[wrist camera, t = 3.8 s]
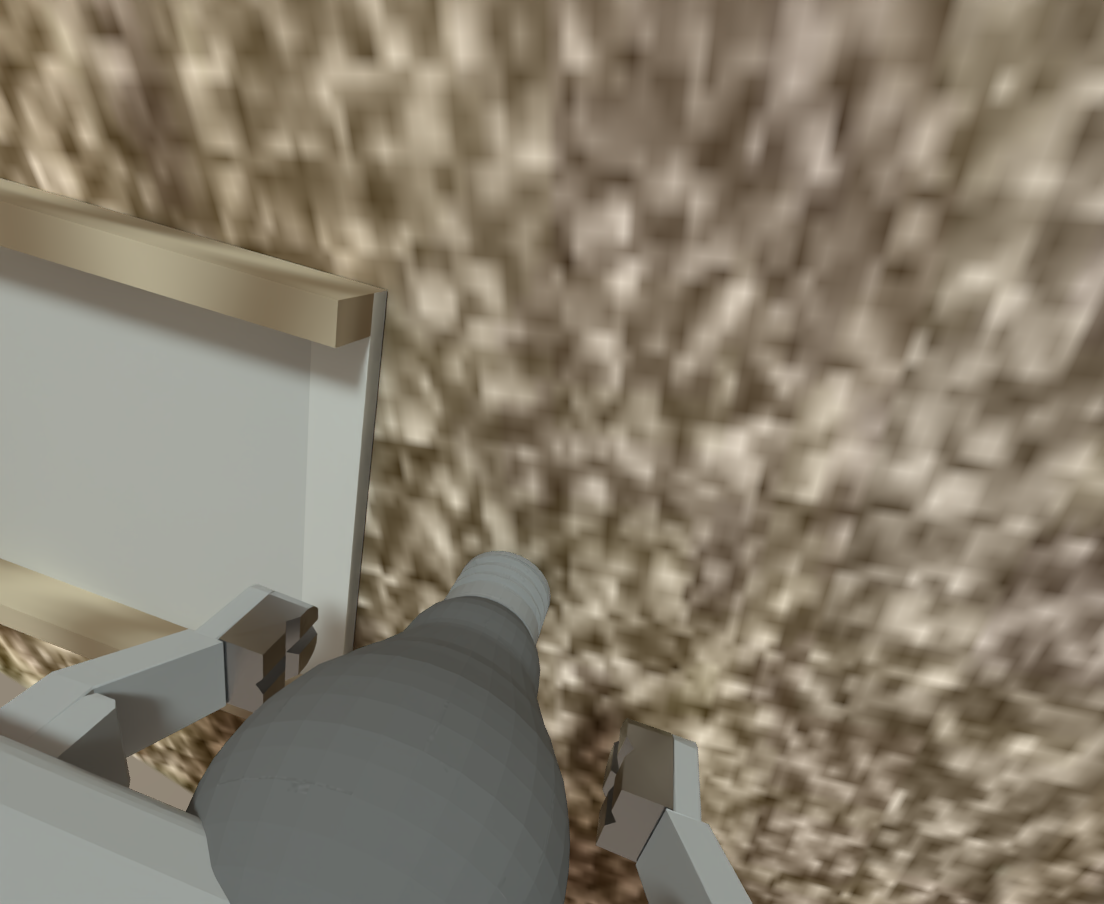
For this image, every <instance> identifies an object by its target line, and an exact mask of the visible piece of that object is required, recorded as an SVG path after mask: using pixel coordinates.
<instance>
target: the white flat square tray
mask: <svg viewBox="0 0 1104 904" xmlns="http://www.w3.org/2000/svg"><path fill="white" fill-rule="evenodd" d="M385 292H387V291H385ZM382 299H383V298H382ZM386 299H387V298H386ZM385 301H386V300H384V302H385ZM385 304H386V303H385ZM382 309H383V308H382ZM382 312H383V311H382ZM381 314H382V313H381ZM383 314H384V313H383ZM383 317H385V316H384V315H383ZM383 319H384V318H383ZM379 320H380V319H379ZM381 321H382V320H381ZM383 323H384V322H383ZM381 324H382V323H381ZM383 325H384V324H383ZM383 325H382V327H383ZM380 327H381V326H380ZM383 328H384V327H383ZM383 330H384V329H383ZM383 330H382V331H383ZM376 332H377V330H376ZM380 332H381V331H380ZM380 334H381V333H380ZM381 338H383V337H381ZM379 339H380V338H379ZM382 340H383V339H382ZM381 342H382V341H381ZM378 345H379V344H378ZM377 347H378V346H377ZM380 347H381V346H380ZM380 347H379V348H380ZM380 351H381V350H380ZM377 352H378V351H377ZM378 353H379V352H378ZM379 354H381V353H379ZM379 354H378V355H379ZM379 358H381V357H380V355H379ZM376 359H377V357H376ZM378 361H379V360H378ZM380 361H381V359H380ZM379 363H380V362H379ZM310 366H311V341H310V340H307V339H304V338H300V337H297V336H294V335H291V334H287V333H284V332H281V331H277V330H274V329H271V328H268V327H264V326H261V325H258V324H255V323H251V322H248V321H245V320H241V319H238V318H235V317H232V316H228V315H225V314H222V313H218V312H215V311H212V310H209V309H205V308H202V307H199V306H196V305H192V304H189V303H186V302H182V301H179V300H176V299H173V298H169V297H166V296H163V295H159V294H156V293H153V292H150V291H146V290H143V289H140V288H137V287H133V286H130V285H127V284H123V283H120V282H117V281H114V280H110V279H107V278H104V277H100V276H97V275H94V274H91V273H87V272H84V271H81V270H78V269H74V268H71V267H68V266H64V265H61V264H58V263H55V262H51V261H48V260H45V259H41V258H38V257H35V256H32V255H28V254H25V253H22V252H19V251H15V250H12V249H9V248H5V247H2V246H0V558H1V559H4V560H6V561H9V562H12V563H14V564H17V565H20V566H22V567H25V568H28V569H30V570H33V571H36V572H38V573H41V574H44V575H46V576H49V577H52V578H54V579H57V580H60V581H62V582H65V583H68V584H70V585H73V586H76V587H78V588H81V589H84V590H86V591H89V592H92V593H94V594H97V595H100V596H102V597H105V598H108V599H110V600H113V601H116V602H118V603H121V604H124V605H126V606H129V607H132V608H134V609H137V610H140V611H142V612H145V613H148V614H150V615H153V616H156V617H158V618H161V619H164V620H166V621H169V622H172V623H174V624H177V625H180V626H182V627H185V628H188V629H191V630H194V631H195V630H197V629H198V628H199V627H200V626H202V625H203V624H204V623H205V622H206V621H208V620H209V619H210V618H211V617H212V616H214V615H215V614H216V613H217V612H219V611H220V610H221V609H222V608H223V607H225V606H226V605H227V604H228V603H229V602H231V601H232V600H233V599H234V598H236V597H237V596H238V595H239V594H240V593H242V592H243V591H244V590H245V589H246V588H248V587H249V586H252V585H255V584H259V585H261V586H264V587H266V588H269V589H272V590H274V591H277V592H280V593H283V594H285V595H288V596H290V597H293V598H295V599H298V600H300V601H302V582H303V555H304V528H305V501H306V474H307V447H308V420H309V393H310ZM379 366H380V365H379ZM374 367H375V366H374ZM376 367H377V366H376ZM378 368H379V367H378ZM379 369H380V368H379ZM377 370H378V369H377ZM377 372H378V371H377ZM377 374H378V373H377ZM378 376H379V375H378ZM374 377H375V376H374ZM376 378H377V377H376ZM377 380H378V379H377ZM374 381H375V380H374ZM378 381H379V380H378ZM378 381H377V383H378ZM374 387H375V386H374ZM377 387H378V386H377ZM373 390H375V389H373ZM376 390H377V389H376ZM377 391H378V390H377ZM377 391H374V392H377ZM375 394H376V393H375ZM376 395H377V394H376ZM374 396H375V395H374ZM372 397H373V396H372ZM376 398H377V397H376ZM376 398H375V399H374V400H375V402H376V401H377V400H376ZM372 401H373V400H372ZM375 402H374V403H375ZM371 403H372V402H371ZM373 406H374V405H373ZM374 407H375V406H374ZM372 409H373V408H372ZM372 409H371V410H372ZM372 411H373V410H372ZM375 411H376V410H375ZM373 413H374V412H373ZM374 414H375V413H374ZM369 416H371V414H370V415H369ZM371 417H372V418H373V417H374V416H373V415H372V416H371ZM370 419H371V418H370ZM374 420H375V419H374ZM371 421H372V420H371ZM374 422H375V421H374ZM371 424H372V423H371ZM367 428H368V427H367ZM373 428H374V424H373ZM373 428H370V430H371V429H372V430H373ZM365 429H366V428H365ZM369 432H371V431H369ZM372 432H373V431H372ZM371 434H372V433H371ZM372 437H373V436H372ZM369 438H371V437H370V436H369ZM372 440H373V439H372V438H371V441H372ZM368 441H369V440H368ZM369 442H370V441H369ZM367 443H368V442H367ZM370 444H371V442H370ZM371 447H372V446H371ZM371 447H370V448H371ZM368 449H369V448H368ZM364 450H365V449H364ZM369 450H371V449H369ZM367 451H368V450H367ZM371 451H372V450H371ZM371 451H370V452H368V453H371V454H372V452H371ZM367 456H368V455H367ZM370 458H371V457H370ZM368 460H369V458H368ZM366 461H367V460H366ZM367 462H368V461H367ZM370 463H371V462H370ZM366 464H367V463H366ZM367 465H369V466H370V464H367ZM364 469H365V468H364ZM368 470H369V469H367V471H368ZM363 471H364V470H363ZM369 473H370V472H369ZM369 473H368V474H369ZM365 475H366V474H365ZM366 476H367V475H366ZM366 476H365V478H366ZM367 478H368V479H369V477H367ZM366 482H367V481H366ZM366 482H365V483H366ZM368 482H369V481H368ZM367 484H368V483H367ZM366 486H367V485H366ZM364 487H365V486H364ZM367 487H368V486H367ZM365 488H366V487H365ZM363 490H364V489H363ZM365 490H366V489H365ZM360 492H361V491H360ZM365 492H367V491H365ZM367 495H368V494H367ZM364 496H365V498H366V497H367V496H366V495H364ZM364 496H363V497H364ZM363 497H362V498H363ZM360 500H361V499H360ZM364 501H365V499H364ZM366 502H367V501H366ZM362 504H364V502H362ZM366 505H367V504H366ZM366 505H365V506H366ZM362 506H364V505H362ZM360 507H361V506H360ZM360 507H359V508H360ZM363 509H364V508H363ZM365 509H366V507H365ZM361 511H362V510H361ZM364 511H365V510H364ZM365 512H366V511H365ZM360 515H361V514H360ZM363 516H364V515H363ZM360 517H361V516H360ZM361 518H362V517H361ZM361 518H359V519H361ZM364 518H365V517H364ZM360 521H362V520H360ZM359 523H360V522H359ZM363 523H364V521H363V522H362V524H363ZM364 525H365V523H364V524H363V526H364ZM360 526H361V525H360ZM363 526H362V527H360V528H359V530H360V529H361V528H363ZM364 527H365V526H364ZM363 529H364V528H363ZM360 531H362V530H360ZM357 533H358V531H357ZM359 534H360V533H359ZM362 534H363V533H362ZM357 535H358V534H357ZM360 535H361V534H360ZM360 535H359V536H360ZM363 536H364V535H363ZM361 537H362V535H361V536H360V539H361ZM362 538H363V537H362ZM359 541H360V540H359ZM356 542H358V540H357V541H356ZM360 543H361V541H360ZM362 543H363V541H362ZM358 545H359V542H358V544H357V546H358ZM360 545H362V544H360ZM360 547H361V546H360ZM361 549H362V548H361ZM356 550H357V549H356ZM358 551H359V550H358ZM356 554H359V553H356ZM360 554H361V553H360ZM361 555H362V554H361ZM359 556H360V555H359ZM355 557H356V556H355ZM360 558H362V557H361V556H360ZM360 558H358V557H356V560H357V559H359V560H361V559H360ZM357 561H358V560H357ZM359 562H360V563H361V561H359ZM359 562H357V563H358V565H359V564H360V563H359ZM355 564H356V563H355ZM353 565H354V564H353ZM356 565H357V564H356ZM360 565H361V564H360ZM360 565H359V566H360ZM354 566H355V565H354ZM354 566H353V567H354ZM358 568H359V567H358ZM360 568H361V567H360ZM354 570H355V569H354ZM355 571H356V572H357V568H356V570H355ZM355 571H354V573H355ZM359 572H360V571H359ZM357 573H358V572H357ZM357 573H356V574H357ZM352 574H353V573H352ZM355 576H356V575H355ZM358 576H360V575H357V577H358ZM355 578H356V577H355ZM355 578H354V580H355ZM352 580H353V579H352ZM353 582H354V581H353ZM356 582H358V581H356ZM356 582H355V583H356ZM351 584H352V583H351ZM353 585H355V584H354V583H353ZM353 585H352V587H354V586H353ZM354 588H357V587H356V586H355V587H354ZM358 588H359V587H358ZM353 591H354V590H353ZM355 591H356V590H355ZM350 593H351V591H350ZM352 593H353V592H352ZM350 595H351V594H350ZM354 595H355V594H354ZM356 595H357V594H356ZM357 597H358V596H357ZM350 598H351V597H350ZM352 598H353V596H352ZM349 600H351V599H349ZM352 600H353V599H352ZM355 600H356V599H355ZM353 601H354V600H353ZM353 601H352V602H353ZM353 603H355V602H353ZM353 603H352V605H353ZM356 604H357V603H356ZM350 605H351V603H350V604H349V606H350ZM352 605H351V606H352ZM353 606H354V605H353ZM354 607H356V606H354ZM351 608H353V607H351ZM355 609H356V608H355ZM351 610H352V609H351ZM353 610H354V608H353ZM356 610H357V609H356ZM349 614H350V613H349ZM351 614H352V613H351ZM351 618H354V617H351ZM355 618H356V614H355ZM348 620H349V619H348ZM351 621H352V622H354V620H353V619H351V620H350V622H351ZM354 623H355V622H354ZM354 623H353V624H354ZM350 624H351V623H350ZM351 625H352V624H351ZM353 626H354V625H353ZM349 627H350V626H349ZM352 628H353V627H352ZM349 631H350V630H349V629H348V632H349ZM354 631H355V630H354ZM354 631H353V632H354ZM348 632H347V633H348ZM349 633H351V631H350V632H349ZM353 634H354V633H353ZM353 634H350V635H351V636H354V635H353ZM348 635H349V634H348ZM350 635H349V636H350ZM346 636H347V635H346ZM351 639H352V638H351ZM353 639H354V638H353ZM348 642H349V641H348ZM348 642H347V644H348V645H349V643H348ZM351 643H352V642H351ZM346 647H347V645H346ZM349 647H350V646H349ZM352 648H353V646H352ZM346 649H347V648H346ZM346 649H345V650H346ZM346 651H347V650H346ZM346 651H345V652H346ZM349 652H350V650H349ZM351 652H352V651H351Z"/></svg>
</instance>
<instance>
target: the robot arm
mask: <svg viewBox="0 0 1104 904" xmlns="http://www.w3.org/2000/svg"><path fill="white" fill-rule="evenodd" d="M317 620H318V608H317V607H315V606H313V605H310V604H308V603H305V602H303V601H300V600H298V599H295V598H293V597H290V596H288V595H285V594H283V593H280V592H277V591H274V590H272V589H269V588H266V587H264V586H261V585H259V584H255V585H252V586H249V587H248V588H246V589H245V590H244V591H243V592H242V593H240V594H239V595H238V596H237V597H236V598H234V599H233V600H232V601H231V602H229V603H228V604H227V605H226V606H225V607H223V608H222V609H221V610H220V611H219V612H217V613H216V614H215V615H214V616H212V617H211V618H210V619H209V620H208V621H206V622H205V623H204V624H203V625H202V626H200V627H199V628H198V629H197V630H195V631H194V630H191V629H187V630H184V631H181V632H177V633H174V634H171V635H168V636H165V637H162V638H158V639H155V640H152V641H149V642H146V643H143V644H139V645H136V646H133V647H130V648H127V649H123V650H120V651H117V652H114V653H111V654H108V655H104V656H101V657H98V658H95V659H92V660H89V661H85V662H82V663H79V664H76V665H73V666H70V667H66V668H63V669H60V670H57V671H54V672H51V673H50V674H48V675H47V676H45V677H44V678H43V679H41V680H40V681H38V682H37V683H35V684H34V685H33V686H31V687H30V688H28V689H27V690H25V691H24V692H23V693H22V694H20V695H19V696H17V697H16V698H14V699H13V700H11V701H10V702H8V703H7V704H6V705H4V706H3V707H1V708H0V904H230V903H229V901H228V899H227V897H226V895H225V894H224V892H223V890H222V888H221V886H220V885H219V883H218V881H217V879H216V878H215V876H214V873H213V870H212V868H211V863H210V857H209V850H208V844H207V838H206V834H205V831H204V829H203V826H202V821H201V820H200V818H199V817H197V816H195V815H192V814H190V813H188V812H185V811H183V810H180V809H178V808H175V807H173V806H171V805H168V804H166V803H163V802H161V801H158V800H156V799H154V798H151V797H149V796H147V795H144V794H142V793H139V792H137V791H134V790H132V789H130V788H129V785H130V776H129V770H128V766H127V760H126V757H129V756H131V755H132V754H134V753H136V752H138V751H140V750H142V749H144V748H146V747H148V746H150V745H152V744H154V743H156V742H157V741H159V740H161V739H163V738H165V737H167V736H169V735H171V734H173V733H175V732H177V731H179V730H180V729H182V728H184V727H186V726H188V725H190V724H192V723H194V722H196V721H198V720H200V719H202V718H203V717H205V716H207V715H209V714H211V713H213V712H215V711H217V710H219V709H221V708H223V707H225V706H226V703H227V704H230V705H233V706H236V707H239V708H242V709H245V710H247V711H250V712H255V711H256V710H257V709H258V708H259V707H260V706H261V705H262V704H263V703H264V702H266V701H267V700H268V699H269V698H270V697H272V696H273V695H274V694H276V693H277V692H278V691H280V690H281V689H282V688H284V687H285V680H288V679H290V678H292V677H295V676H297V675H299V673H300V672H301V671H302V670H303V669H304V667H305V666H306V665H307V663H308V661H309V660H310V658H311V656H312V654H313V652H314V649H315V646H316V643H317V632H316V631H315V629H314V627H313V626H312V625H313V624H314V623H315V622H316V621H317ZM603 792H604V794H605V796H606V798H605V801H604V803H603V805H602V807H601V810H600V813H599V821H598V829H597V838H596V846H599V847H601V848H603V849H606V850H608V851H610V852H613V853H615V854H618V855H620V856H622V857H625V858H627V859H629V860H632V861H634V862H636V868H637V871H638V873H639V876H640V879H641V882H642V885H643V888H644V891H645V894H646V897H647V900H648V903H649V904H752V902H751V900H750V898H749V897H748V895H747V893H746V891H745V889H744V888H743V886H742V884H741V882H740V880H739V879H738V877H737V875H736V873H735V871H734V869H733V868H732V866H731V864H730V862H729V860H728V859H727V857H726V855H725V853H724V851H723V849H722V848H721V846H720V844H719V842H718V840H717V839H716V837H715V835H714V833H713V831H712V829H711V828H710V826H709V824H707V823H704V822H702V821H701V802H700V782H699V761H698V747H697V745H696V742H693V741H690V740H687V739H684V738H682V737H679V736H676V735H673V734H672V735H671V733H669V732H666V731H663V730H660V729H657V728H654V727H651V726H648V725H646V724H643V723H640V722H637V721H634V720H631V719H628V718H626V719H625V721H624V722H623V725H622V727H621V729H620V737H619V741H617V742H615V743H614V745H613V748H612V750H611V753H610V756H609V759H608V763H607V766H606V771H605V776H604V783H603Z"/></svg>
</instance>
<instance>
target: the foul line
mask: <svg viewBox="0 0 1104 904" xmlns="http://www.w3.org/2000/svg"><path fill="white" fill-rule="evenodd" d="M382 298H383V299H382ZM386 298H387V292H385V291H382V292H377V293H374V300H373V312H372V324H371V335H370V336H369V337H367V338H364V339H361V340H358V341H355V342H352V343H349V344H346V345H343V346H340V347H337V348H333V347H330V346H327V345H323V344H320V343H317V342H314V341H311V366H310V393H309V420H308V447H307V474H306V501H305V528H304V555H303V582H302V601H303V602H305V603H308V604H310V605H313V606H315V607H317V608H318V620H317V621H316V622H315V623H314V624H313V625H312V626H313V627H314V629H315V631H316V632H317V643H316V646H315V649H314V652H313V654H312V656H311V658H310V660H309V661H308V663H307V665H306V666H305V667H304V669H303V670H302V671H301V672H300V674H302V675H303V674H304V673H306V672H308V671H309V670H311V669H312V668H314V667H315V666H317V665H318V664H321V663H323V662H326V661H329V660H331V659H334V658H337V657H339V656H342V655H345V654H347V653H349V650H350V652H351V651H353V648H352V646H353V641H354V639H353V638H354V636H351V635H350V634H353V633H354V632H353V631H354V630H355V623H354V622H355V621H356V618H355V614H356V609H357V604H356V603H357V600H358V597H357V596H358V589H359V588H358V587H359V579H360V576H358V577H357V575H360V572H359V571H360V569H361V568H360V567H361V565H360V564H361V563H360V562H359V561H361V560H359V559H357V560H358V561H357V560H356V557H358V558H360V556H361V557H362V555H361V554H362V549H361V548H363V543H362V541H363V538H364V536H363V535H364V529H363V528H364V526H365V525H364V526H363V524H364V523H365V518H364V517H366V512H365V511H366V509H365V507H366V506H367V505H366V504H367V502H366V501H367V497H366V498H365V496H364V495H366V496H368V495H367V494H368V487H367V486H369V482H368V481H369V479H368V478H367V477H369V475H370V473H369V472H370V466H369V465H367V464H370V465H371V463H370V462H371V458H370V457H371V455H372V454H371V453H368V452H370V451H371V450H372V447H371V446H372V444H373V440H372V441H371V438H372V439H373V437H372V436H373V434H374V428H373V424H374V423H375V422H374V421H375V420H374V419H375V414H374V413H376V411H375V410H376V403H377V401H376V402H375V400H374V399H375V398H376V397H377V395H376V394H377V392H378V391H377V390H378V387H377V386H378V383H377V381H378V380H379V376H378V375H379V372H380V369H379V368H380V366H379V365H380V363H379V362H380V359H381V358H379V355H380V357H381V354H379V353H381V351H382V342H381V341H382V339H383V338H381V337H383V331H382V330H383V329H384V328H383V327H384V325H383V324H384V323H383V322H384V320H385V317H383V315H384V316H385V309H386V304H385V303H386V301H385V302H384V300H386ZM382 308H383V309H382ZM382 311H383V312H382ZM381 313H382V314H381ZM383 313H384V314H383ZM383 318H384V319H383ZM379 319H380V320H379ZM381 320H382V321H381ZM381 323H382V324H381ZM382 325H383V327H382ZM380 326H381V327H380ZM376 330H377V332H376ZM380 331H381V332H380ZM380 333H381V334H380ZM379 338H380V339H379ZM378 344H379V345H378ZM377 346H378V347H377ZM380 346H381V347H380ZM379 347H380V348H379ZM380 350H381V351H380ZM377 351H378V352H379V353H378V352H377ZM378 354H379V355H378ZM376 357H377V359H376ZM378 360H379V361H378ZM374 366H375V367H374ZM376 366H377V367H376ZM378 367H379V368H378ZM377 369H378V370H377ZM377 371H378V372H377ZM377 373H378V374H377ZM374 376H375V377H374ZM376 377H377V378H376ZM377 379H378V380H377ZM374 380H375V381H374ZM378 382H379V381H378ZM374 386H375V387H374ZM373 389H375V390H373ZM376 389H377V390H376ZM374 391H377V392H374ZM375 393H376V394H375ZM374 395H375V396H374ZM372 396H373V397H372ZM372 400H373V401H372ZM376 400H377V398H376ZM371 402H372V403H371ZM374 402H375V403H374ZM373 405H374V406H375V407H374V406H373ZM372 408H373V409H372ZM371 409H372V410H373V411H372V410H371ZM373 412H374V413H373ZM370 414H371V416H372V415H373V416H374V417H373V418H372V417H371V416H369V415H370ZM370 418H371V419H370ZM371 420H372V421H371ZM371 423H372V424H371ZM367 427H368V428H367ZM365 428H366V429H365ZM370 428H373V430H372V429H371V430H370ZM369 431H371V432H369ZM372 431H373V432H372ZM371 433H372V434H371ZM369 436H370V437H371V438H369ZM368 440H369V441H370V442H371V444H370V442H369V441H368ZM367 442H368V443H367ZM370 447H371V448H370ZM368 448H369V449H371V450H369V449H368ZM364 449H365V450H364ZM367 450H368V451H367ZM371 452H372V451H371ZM367 455H368V456H367ZM368 458H369V460H368ZM366 460H367V461H368V462H367V461H366ZM366 463H367V464H366ZM364 468H365V469H364ZM367 469H369V470H368V471H367ZM363 470H364V471H363ZM368 473H369V474H368ZM365 474H366V475H367V476H366V475H365ZM365 476H366V478H365ZM366 481H367V482H366ZM365 482H366V483H365ZM367 483H368V484H367ZM366 485H367V486H366ZM364 486H365V487H366V488H365V487H364ZM363 489H364V490H363ZM365 489H366V490H365ZM360 491H361V492H360ZM365 491H367V492H365ZM363 496H364V497H363ZM362 497H363V498H362ZM360 499H361V500H360ZM364 499H365V501H364ZM362 502H364V504H362ZM362 505H364V506H362ZM365 505H366V506H365ZM360 506H361V507H360ZM359 507H360V508H359ZM363 508H364V509H363ZM361 510H362V511H361ZM364 510H365V511H364ZM360 514H361V515H360ZM363 515H364V516H363ZM360 516H361V517H362V518H361V517H360ZM359 518H361V519H359ZM360 520H362V521H360ZM363 521H364V523H363V524H362V522H363ZM359 522H360V523H359ZM360 525H361V526H360ZM362 526H363V528H361V529H360V530H362V531H360V530H359V528H360V527H362ZM357 531H358V533H357ZM359 533H360V534H361V535H362V537H363V538H362V537H361V539H360V536H361V535H360V534H359ZM362 533H363V534H362ZM357 534H358V535H357ZM359 535H360V536H359ZM357 540H358V542H359V545H358V546H357V544H358V542H356V541H357ZM359 540H360V541H361V543H360V541H359ZM360 544H362V545H360ZM360 546H361V547H360ZM356 549H357V550H356ZM358 550H359V551H358ZM356 553H359V554H356ZM360 553H361V554H360ZM359 555H360V556H359ZM355 556H356V557H355ZM360 559H361V558H360ZM357 562H359V563H360V564H359V565H360V566H359V565H358V563H357ZM355 563H356V564H357V565H356V564H355ZM353 564H354V565H355V566H354V565H353ZM353 566H354V567H353ZM358 567H359V568H358ZM356 568H357V572H358V573H357V572H356V571H355V570H356ZM354 569H355V570H354ZM354 571H355V573H354ZM352 573H353V574H352ZM356 573H357V574H356ZM355 575H356V576H355ZM355 577H356V578H355ZM354 578H355V580H354ZM352 579H353V580H352ZM353 581H354V582H353ZM356 581H358V582H356ZM355 582H356V583H355ZM351 583H352V584H351ZM353 583H354V584H355V585H353ZM352 585H353V586H354V587H355V586H356V587H357V588H354V587H352ZM353 590H354V591H353ZM355 590H356V591H355ZM350 591H351V593H350ZM352 592H353V593H352ZM350 594H351V595H350ZM354 594H355V595H354ZM356 594H357V595H356ZM352 596H353V598H352ZM350 597H351V598H350ZM349 599H351V600H349ZM352 599H353V600H354V601H353V600H352ZM355 599H356V600H355ZM352 601H353V602H355V603H353V602H352ZM350 603H351V605H352V603H353V605H354V606H356V607H354V606H353V605H352V606H351V605H350V606H349V604H350ZM351 607H353V608H354V610H353V608H351ZM355 608H356V609H355ZM351 609H352V610H351ZM349 613H350V614H349ZM351 613H352V614H351ZM351 617H354V618H351ZM348 619H349V620H348ZM351 619H353V620H354V622H352V621H351V622H350V620H351ZM350 623H351V624H352V625H351V624H350ZM353 623H354V624H353ZM353 625H354V626H353ZM349 626H350V627H349ZM352 627H353V628H352ZM348 629H349V630H350V631H351V633H349V632H350V631H349V632H348ZM347 632H348V633H347ZM348 634H349V635H350V636H349V635H348ZM346 635H347V636H346ZM353 635H354V634H353ZM351 638H352V639H351ZM348 641H349V642H348ZM347 642H348V643H349V645H348V644H347ZM351 642H352V643H351ZM346 645H347V647H346ZM349 646H350V647H349ZM346 648H347V649H346ZM345 649H346V650H347V651H346V650H345ZM345 651H346V652H345Z"/></svg>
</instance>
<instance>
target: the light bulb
mask: <svg viewBox="0 0 1104 904" xmlns="http://www.w3.org/2000/svg"><path fill="white" fill-rule="evenodd" d="M550 597H551V596H550V588H549V585H548V583H547V580H546V578H545V577H544V575H543V574H542V572H541V571H540V570H539V569H538V568H537V567H536V566H535V565H534V564H533V563H531V562H530V561H529V560H527V559H525V558H523V557H521V556H519V555H516V554H514V553H510V552H504V551H491V552H486V553H483V554H480V555H478V556H476V557H475V558H473V559H472V560H470V561H469V562H468V564H467V565H466V566H465V567H464V569H463V571H462V573H461V574H460V576H459V577H458V579H457V581H456V582H455V584H454V585H453V586H452V588H451V590H450V592H449V594H448V595H447V596H446V598H445V599H444V601H441V602H438V603H436V604H434V605H433V606H431V607H429V608H428V609H426V610H425V611H423V612H422V613H420V614H419V615H418V616H417V617H416V618H415V619H414V620H413V621H412V622H411V623H410V625H409V626H408V627H407V628H406V629H405V630H404V631H403V632H401V633H399V634H397V635H394V636H392V637H390V638H387V639H385V640H383V641H380V642H376V643H373V644H370V645H367V646H364V647H361V648H359V649H356V650H354V651H352V652H349V653H347V654H345V655H342V656H339V657H337V658H334V659H331V660H329V661H326V662H323V663H321V664H318V665H317V666H315V667H314V668H312V669H311V670H309V671H308V672H306V673H304V674H303V675H302V676H300V677H299V678H297V679H296V680H294V681H293V682H291V683H290V684H288V685H287V686H285V687H284V688H282V689H281V690H280V691H278V692H277V693H276V694H274V695H273V696H272V697H270V698H269V699H268V700H267V701H266V702H264V703H263V704H262V705H261V706H260V707H259V708H258V709H257V710H256V711H255V712H253V713H252V714H251V715H250V716H249V717H248V718H247V719H246V720H245V722H244V723H243V724H242V725H241V726H240V727H239V728H238V729H237V731H236V732H235V733H234V734H233V735H232V736H231V737H230V739H229V740H228V741H227V742H226V743H225V744H224V746H223V747H222V748H221V750H220V751H219V752H218V754H217V755H216V756H215V758H214V759H213V760H212V762H211V764H210V765H209V767H208V769H207V770H206V772H205V774H204V775H203V777H202V779H201V780H200V782H199V784H198V786H197V788H196V791H195V793H194V795H193V797H192V799H191V801H190V804H189V806H188V808H187V810H186V812H188V813H190V814H192V815H195V816H197V817H199V818H200V820H201V821H202V826H203V829H204V831H205V834H206V838H207V844H208V850H209V857H210V863H211V868H212V870H213V873H214V876H215V878H216V879H217V881H218V883H219V885H220V886H221V888H222V890H223V892H224V894H225V895H226V897H227V899H228V901H229V903H230V904H564V899H565V893H566V886H567V879H568V872H569V853H570V834H569V818H568V808H567V800H566V794H565V788H564V781H563V778H562V775H561V772H560V769H559V766H558V763H557V760H556V757H555V754H554V750H553V747H552V743H551V739H550V737H549V735H548V732H547V730H546V728H545V725H544V722H543V719H542V715H541V712H540V708H539V704H538V701H537V693H538V686H539V676H540V665H539V658H538V652H537V648H536V643H537V640H538V637H539V634H540V631H541V628H542V625H543V622H544V619H545V616H546V613H547V610H548V607H549V604H550Z"/></svg>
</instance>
